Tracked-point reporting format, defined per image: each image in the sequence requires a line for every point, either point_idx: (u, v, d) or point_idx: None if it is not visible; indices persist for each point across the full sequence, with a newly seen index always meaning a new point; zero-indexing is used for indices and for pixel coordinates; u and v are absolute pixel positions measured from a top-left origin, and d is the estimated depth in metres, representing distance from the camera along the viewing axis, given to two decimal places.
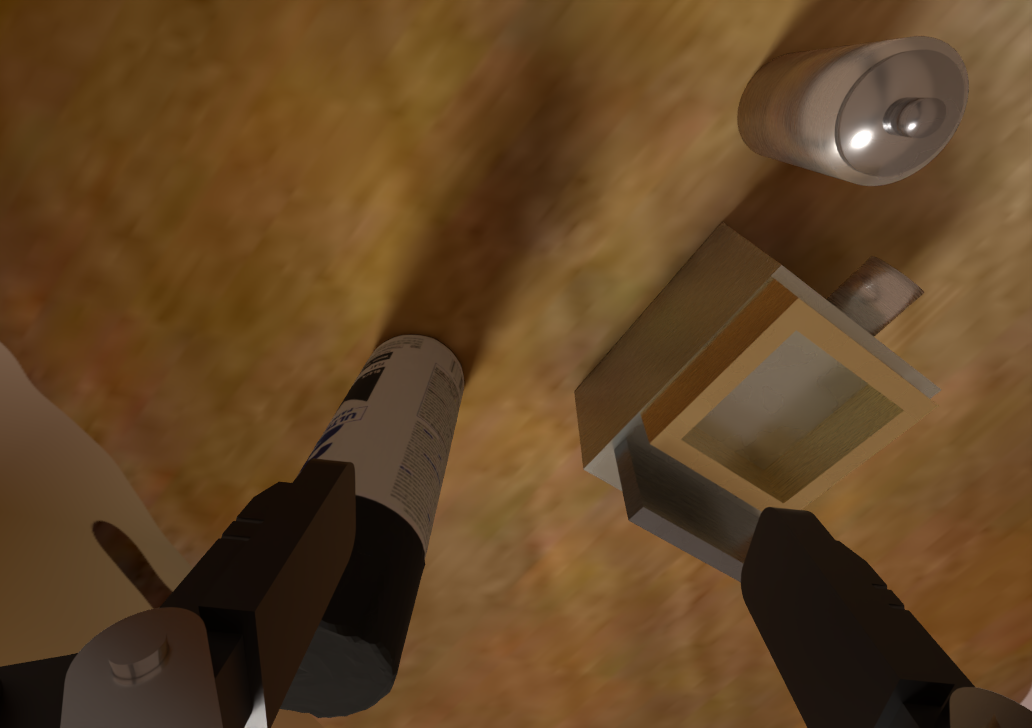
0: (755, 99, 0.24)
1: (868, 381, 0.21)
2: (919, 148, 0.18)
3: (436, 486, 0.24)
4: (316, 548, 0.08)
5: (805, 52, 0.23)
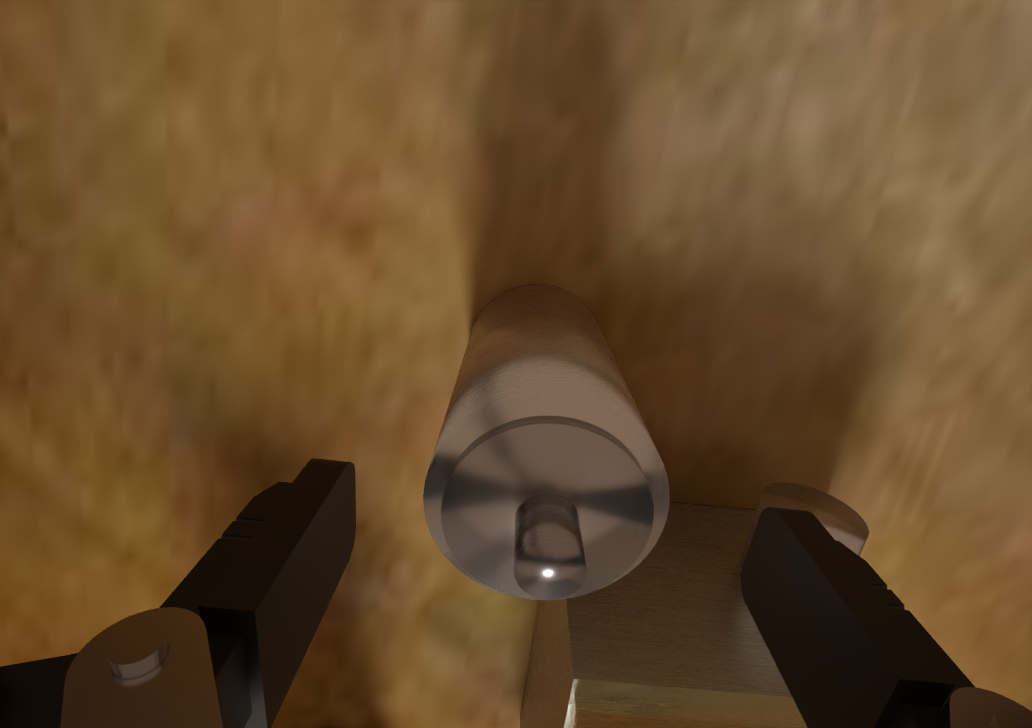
0: None
1: None
2: (619, 538, 0.10)
3: None
4: (316, 548, 0.08)
5: (482, 325, 0.15)
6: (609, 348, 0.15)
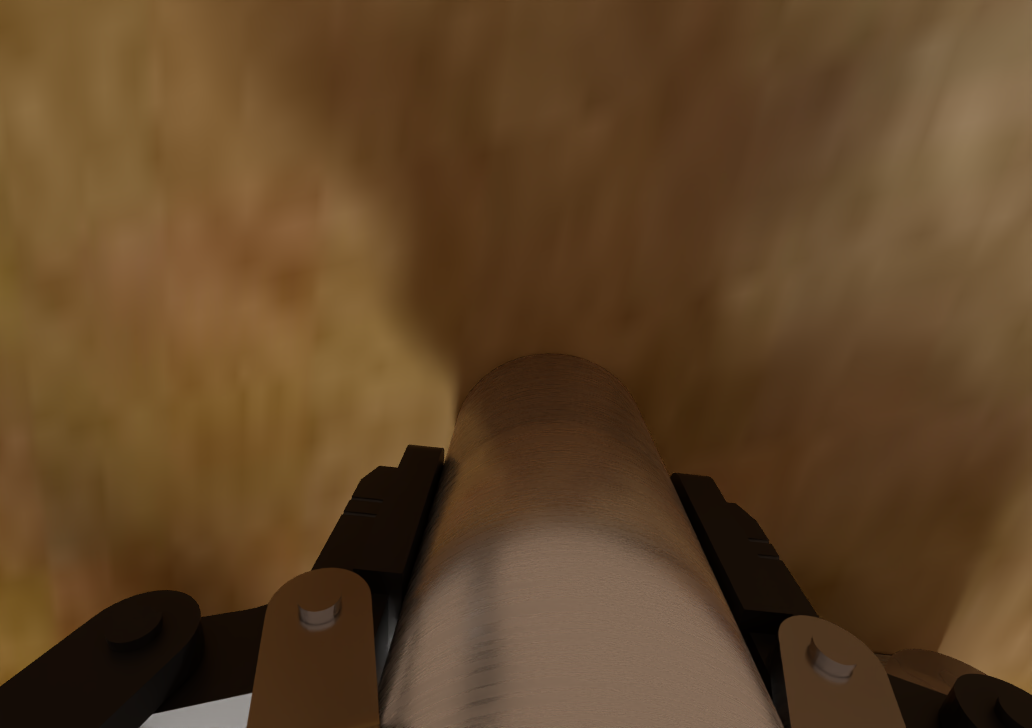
0: None
1: None
2: None
3: None
4: None
5: (468, 428, 0.10)
6: None
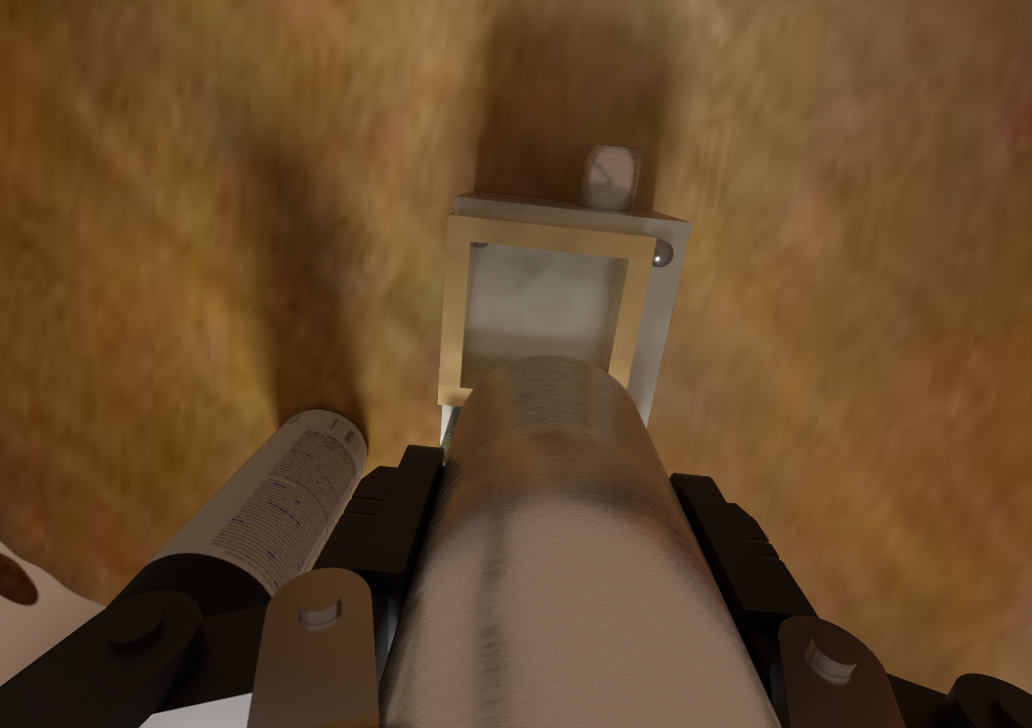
0: None
1: (571, 250, 0.21)
2: None
3: (289, 526, 0.26)
4: (426, 524, 0.09)
5: (468, 429, 0.10)
6: None
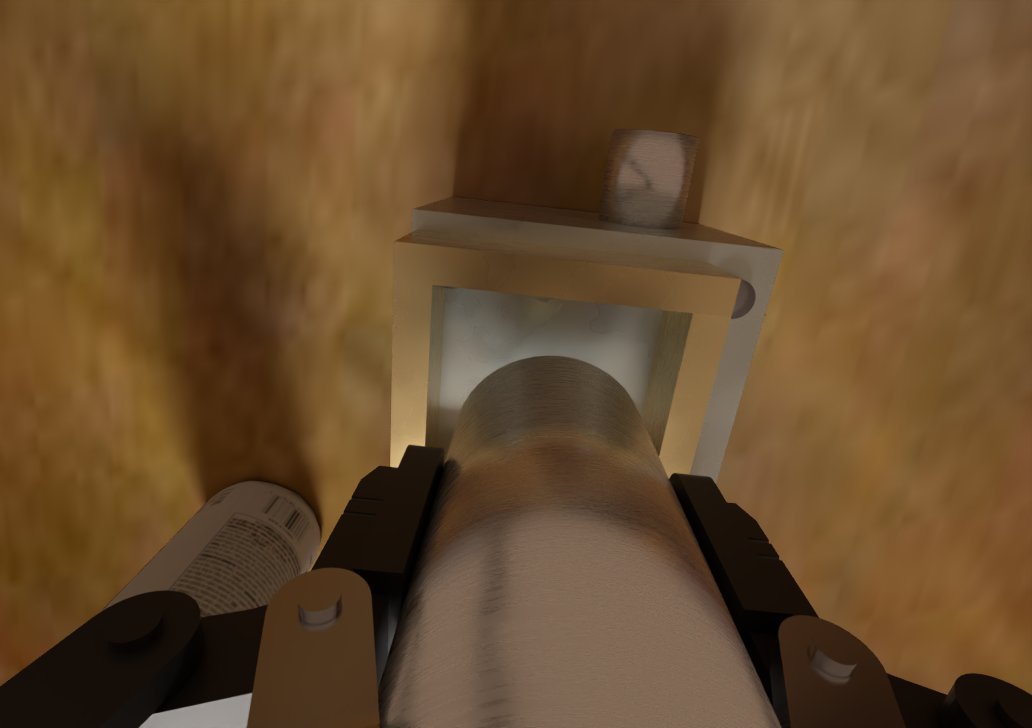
0: None
1: (599, 299, 0.13)
2: None
3: None
4: (426, 524, 0.09)
5: (468, 430, 0.10)
6: (664, 469, 0.10)
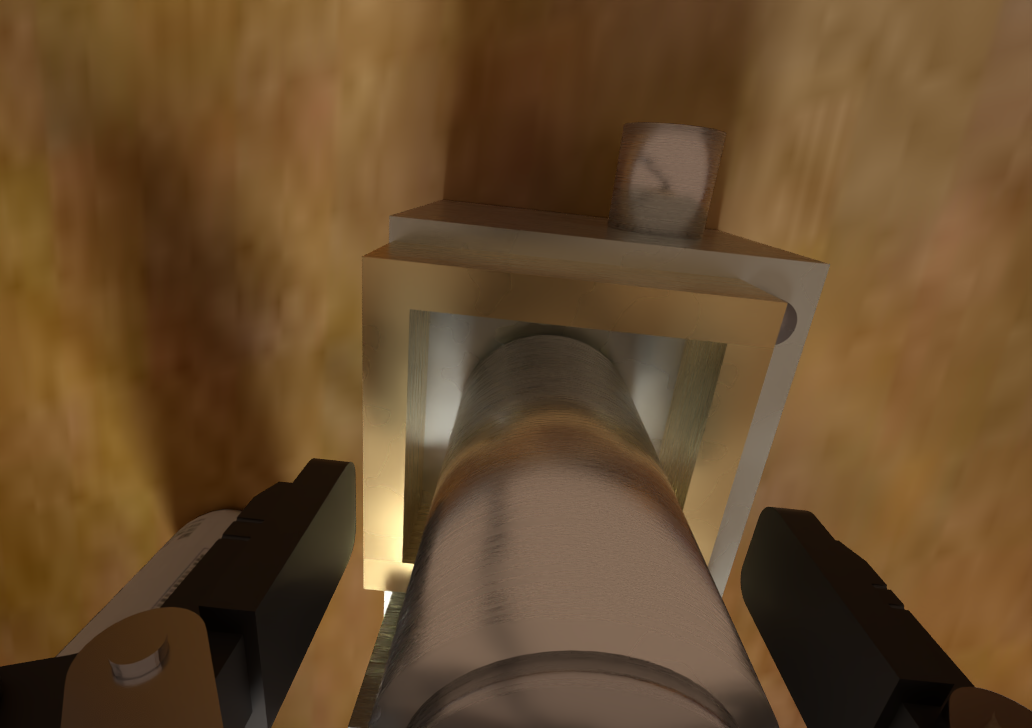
0: None
1: (613, 327, 0.11)
2: None
3: None
4: (316, 548, 0.08)
5: (473, 399, 0.11)
6: (646, 431, 0.11)
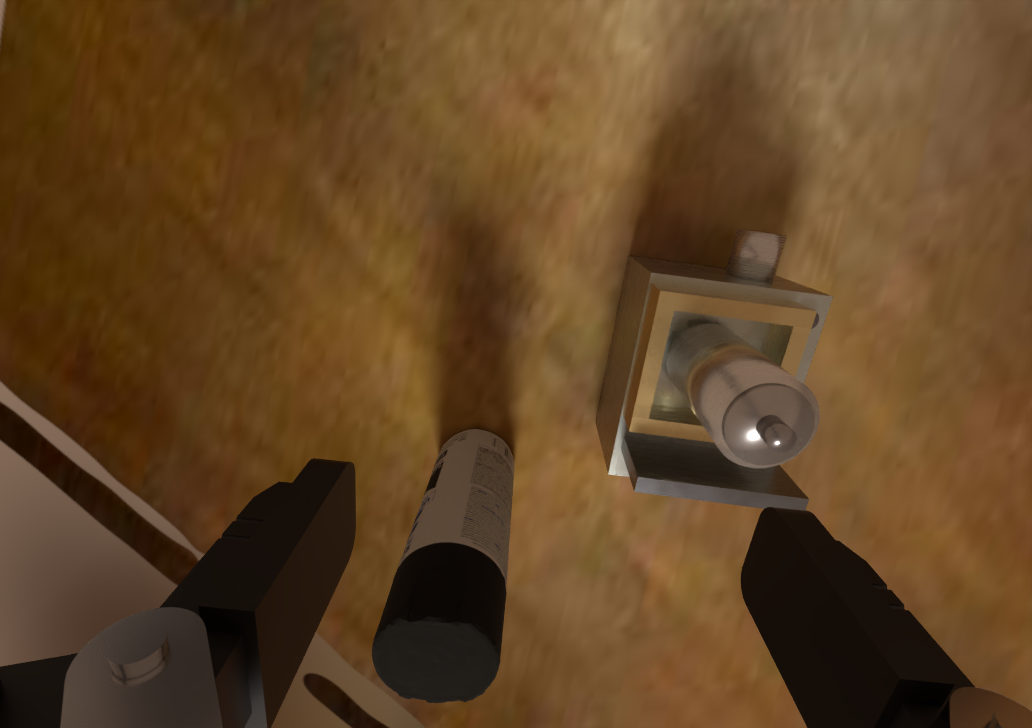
0: (675, 382, 0.30)
1: (750, 319, 0.28)
2: (798, 436, 0.23)
3: (499, 525, 0.33)
4: (316, 548, 0.08)
5: (691, 345, 0.29)
6: None
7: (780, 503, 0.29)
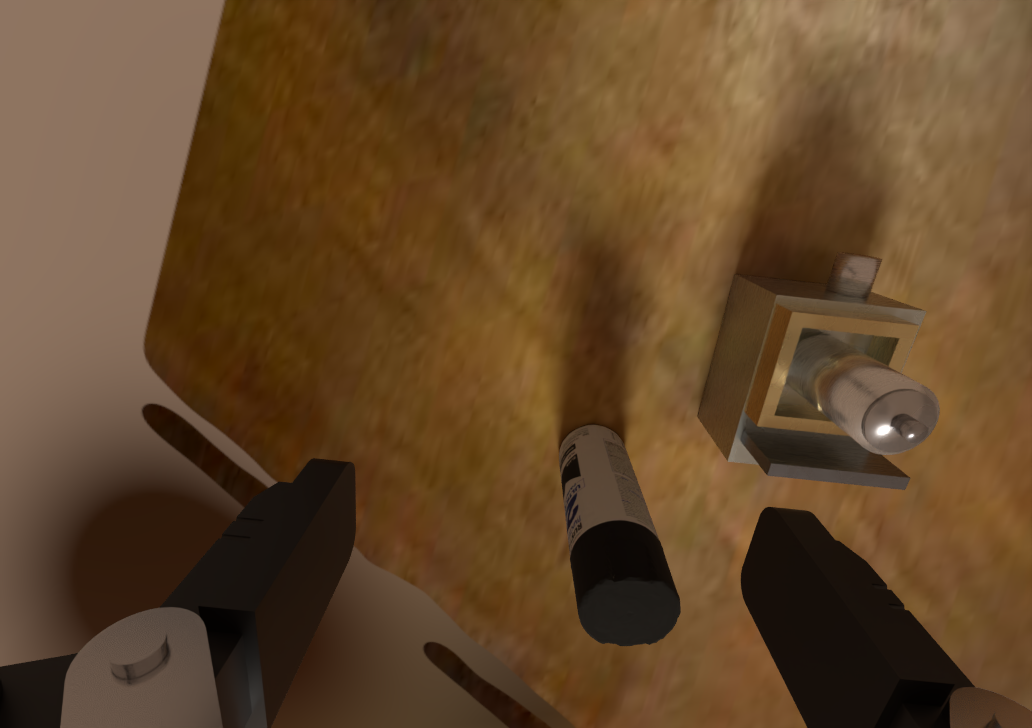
0: (796, 384, 0.37)
1: (864, 333, 0.35)
2: None
3: (645, 506, 0.39)
4: (316, 548, 0.08)
5: (814, 355, 0.35)
6: None
7: (886, 482, 0.36)
